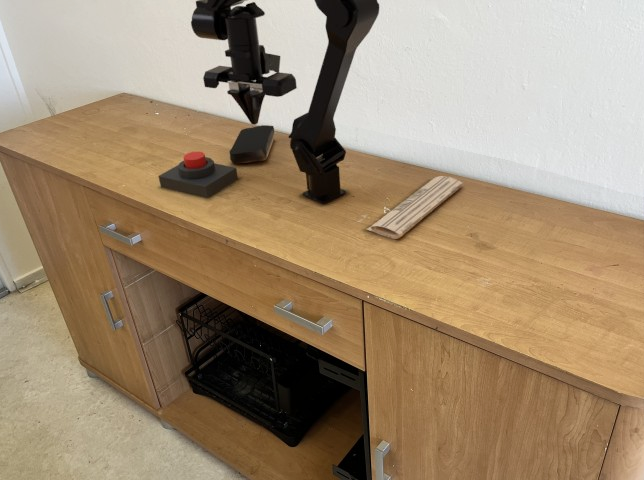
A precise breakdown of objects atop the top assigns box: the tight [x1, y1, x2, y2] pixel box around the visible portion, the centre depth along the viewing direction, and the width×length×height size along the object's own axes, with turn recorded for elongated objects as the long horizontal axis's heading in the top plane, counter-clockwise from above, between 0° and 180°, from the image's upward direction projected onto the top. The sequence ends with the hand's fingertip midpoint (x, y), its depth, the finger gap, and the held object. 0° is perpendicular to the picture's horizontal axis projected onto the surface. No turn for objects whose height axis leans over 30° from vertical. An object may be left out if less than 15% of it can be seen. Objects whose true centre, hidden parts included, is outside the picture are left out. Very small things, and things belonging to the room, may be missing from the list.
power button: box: [183, 151, 207, 169], centre depth 128 cm, size 4×4×2 cm
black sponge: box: [229, 124, 275, 165], centre depth 142 cm, size 16×8×4 cm, turn 177°
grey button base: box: [158, 156, 239, 199], centre depth 130 cm, size 13×10×4 cm
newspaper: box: [366, 175, 464, 240], centre depth 116 cm, size 24×7×2 cm, turn 144°
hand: (254, 123), depth 124 cm, fingers closed
